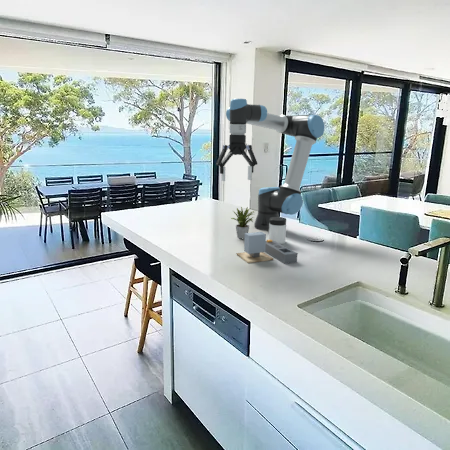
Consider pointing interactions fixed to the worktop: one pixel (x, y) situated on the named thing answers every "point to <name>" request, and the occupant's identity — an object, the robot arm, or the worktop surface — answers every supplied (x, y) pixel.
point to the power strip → (280, 252)
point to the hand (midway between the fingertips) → (236, 180)
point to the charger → (254, 243)
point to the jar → (277, 229)
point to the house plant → (242, 222)
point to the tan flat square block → (250, 259)
